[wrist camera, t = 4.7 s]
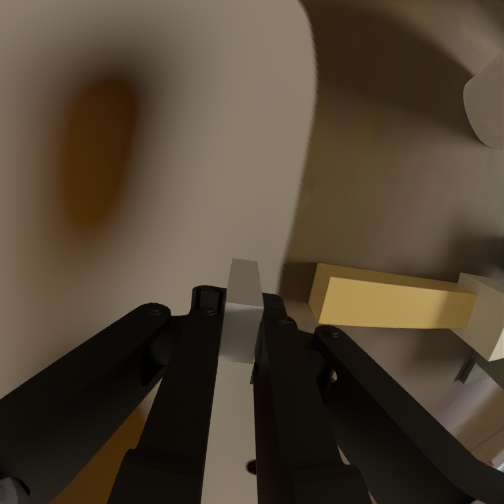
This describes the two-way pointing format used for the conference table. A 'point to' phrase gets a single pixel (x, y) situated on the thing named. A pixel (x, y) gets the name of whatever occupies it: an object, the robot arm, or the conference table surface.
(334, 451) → the robot arm
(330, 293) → the plug
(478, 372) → the housing
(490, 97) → the cup
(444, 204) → the conference table surface
